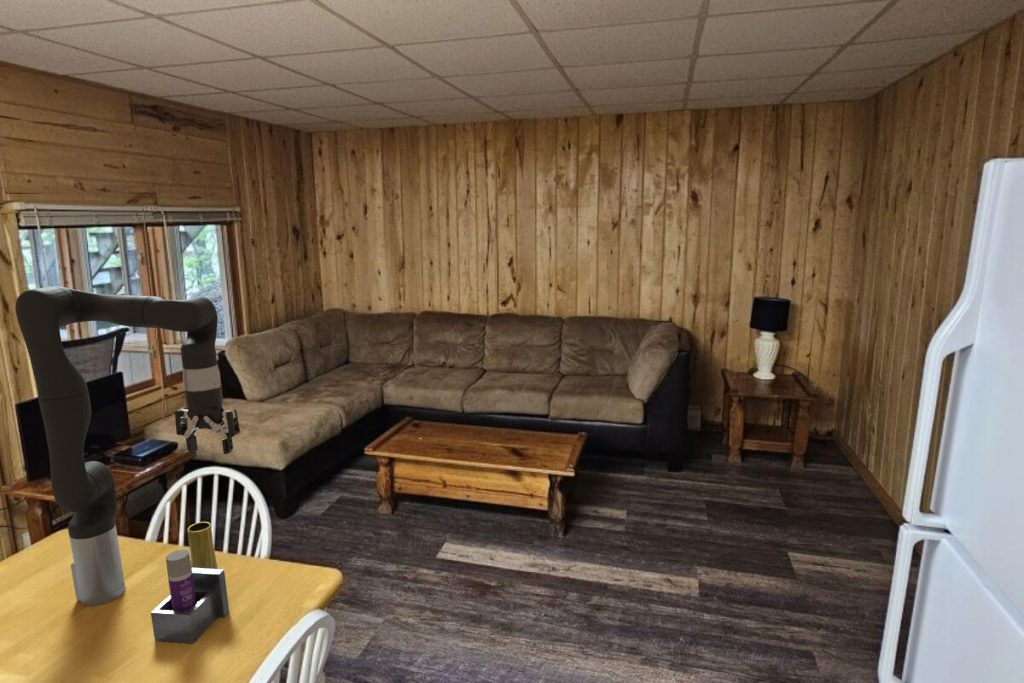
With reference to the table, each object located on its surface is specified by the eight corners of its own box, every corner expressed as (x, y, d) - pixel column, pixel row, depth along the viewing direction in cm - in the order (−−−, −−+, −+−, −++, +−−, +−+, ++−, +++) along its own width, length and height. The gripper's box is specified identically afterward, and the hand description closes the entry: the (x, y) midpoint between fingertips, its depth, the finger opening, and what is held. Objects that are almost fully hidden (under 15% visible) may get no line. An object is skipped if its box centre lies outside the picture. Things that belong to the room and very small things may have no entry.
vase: (186, 582, 155) (179, 530, 152) (206, 569, 160) (200, 519, 158) (204, 587, 153) (197, 534, 150) (224, 574, 158) (218, 523, 155)
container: (187, 624, 134) (179, 561, 131) (169, 622, 135) (160, 559, 132) (202, 611, 138) (194, 550, 135) (184, 608, 139) (175, 548, 136)
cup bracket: (148, 640, 133) (141, 595, 131) (181, 609, 144) (175, 566, 142) (200, 644, 132) (193, 598, 130) (229, 612, 143) (224, 569, 140)
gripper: (162, 389, 137) (171, 457, 141) (222, 390, 136) (230, 459, 139) (184, 380, 145) (192, 445, 148) (241, 381, 143) (248, 447, 146)
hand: (210, 452), depth 143 cm, fingers open, 8 cm apart
